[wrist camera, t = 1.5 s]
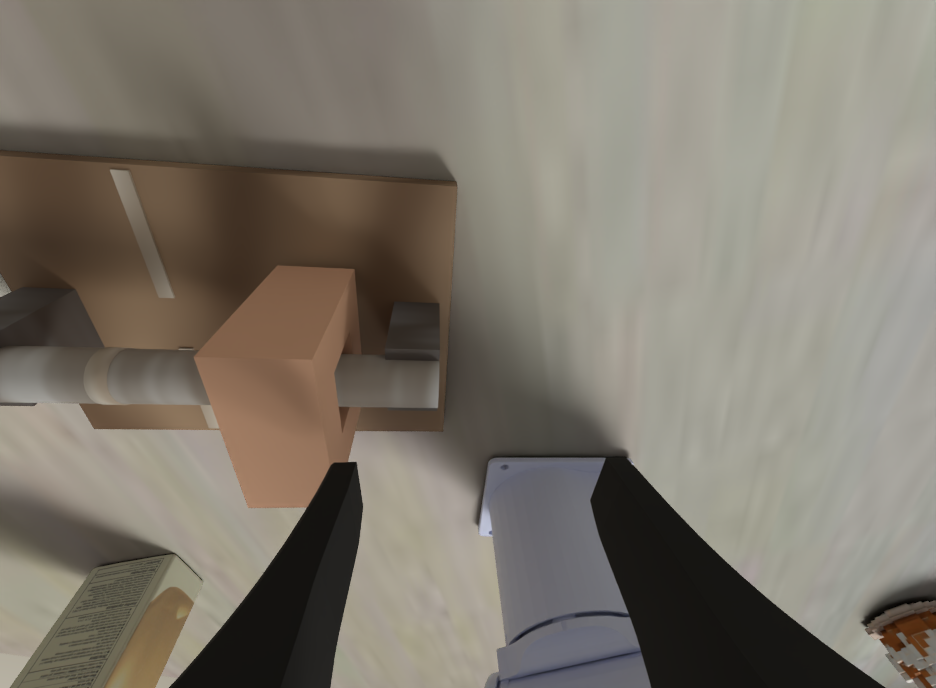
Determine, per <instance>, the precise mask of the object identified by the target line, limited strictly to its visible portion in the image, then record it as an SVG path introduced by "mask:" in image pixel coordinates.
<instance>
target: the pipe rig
mask: <svg viewBox="0 0 936 688" xmlns="http://www.w3.org/2000/svg"><path fill="white" fill-rule="evenodd" d="M456 201H457V182H456V181H441V180H427V179H412V178H397V177H383V176H368V175H354V174H339V173H325V172H310V171H295V170H281V169H266V168H252V167H237V166H223V165H208V164H193V163H179V162H164V161H150V160H135V159H121V158H106V157H91V156H77V155H62V154H48V153H33V152H19V151H4V150H0V273H1V275H2V276H3V278H4V280H5V281H6V283H7V285H8V286H9V288H10V290H11V291H12V292H11V293H9V294H7V295H4V296H2V297H0V406H35V405H36V404H37V403H79V404H80V406H81V408H82V409H83V411H84V413H85V414H86V416H87V418H88V419H89V421H90V423H91V424H92V426H93V428H94V429H172V430H220V428H219V426H218V423H217V420H216V417H215V415H214V412H213V409H212V406H211V404H210V401H209V398H208V396H207V393H206V390H205V387H204V385H203V382H202V379H201V376H200V374H199V371H198V368H197V365H196V363H195V360H194V356H195V355H196V354H197V353H198V351H199V350H200V349H201V348H202V347H203V346H204V345H205V344H206V343H207V342H208V341H209V339H210V338H211V337H212V336H213V335H214V334H215V333H216V332H217V331H218V330H219V329H220V327H221V326H222V325H223V324H224V323H225V322H226V321H227V320H228V319H229V318H230V317H231V315H232V314H233V313H234V312H235V311H236V310H237V309H238V308H239V307H240V306H241V305H242V303H243V302H244V301H245V300H246V299H247V298H248V297H249V296H250V295H251V294H252V293H253V291H254V290H255V289H256V288H257V287H258V286H259V285H260V284H261V283H262V282H263V281H264V279H265V278H266V277H267V276H268V275H269V274H270V273H271V272H272V271H273V270H274V269H275V267H276V266H277V265H279V266H301V267H322V268H344V269H355V281H356V293H357V305H358V316H359V328H360V340H361V352H362V354H341V356H340V359H339V361H338V364H337V367H336V369H335V372H334V375H335V383H336V390H337V398H338V405H339V407H361V409H360V413H359V418H358V422H357V426H356V430H355V431H443V425H444V408H445V390H446V373H447V356H448V339H449V322H450V305H451V287H452V270H453V253H454V236H455V219H456Z"/></svg>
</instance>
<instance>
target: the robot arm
mask: <svg viewBox="0 0 936 688" xmlns="http://www.w3.org/2000/svg"><path fill="white" fill-rule="evenodd" d="M362 512H363V503H362V496H361V489H360V483H359V476H358V469H357V462H334V463H333V464H331V465H330V467H329V469H328V471H327V473H326V475H325V477H324V479H323V481H322V483H321V484H320V486H319V488H318V490H317V492H316V493H315V495H314V497H313V499H312V500H311V502H310V504H309V505H308V507H307V509H306V510H305V512H304V514H303V515H302V517H301V518H300V520H299V521H298V523H297V525H296V526H295V528H294V529H293V531H292V532H291V534H290V536H289V537H288V539H287V540H286V542H285V543H284V545H283V546H282V548H281V549H280V550H279V552H278V553H277V555H276V556H275V558H274V559H273V560H272V562H271V563H270V565H269V566H268V568H267V569H266V570H265V572H264V573H263V575H262V576H261V577H260V579H259V580H258V582H257V583H256V584H255V586H254V587H253V588H252V590H251V591H250V592H249V593H248V595H247V596H246V597H245V599H244V600H243V601H242V603H241V604H240V605H239V606H238V608H237V609H236V610H235V611H234V613H233V614H232V615H231V616H230V618H229V619H228V620H227V621H226V623H225V624H224V625H223V626H222V627H221V629H220V630H219V631H218V632H217V633H216V635H215V636H214V637H213V638H212V639H211V641H210V642H209V643H208V644H207V645H206V646H205V648H204V649H203V650H202V651H201V652H200V654H199V655H198V656H197V657H196V658H195V659H194V661H193V662H192V663H191V664H190V665H189V666H188V667H187V668H186V670H185V671H184V672H183V673H182V674H181V675H180V676H179V677H178V679H177V680H176V681H175V682H174V683H173V684H172V685H171V686H170V687H169V688H330V686H331V679H332V672H333V665H334V657H335V652H336V646H337V641H338V636H339V631H340V626H341V622H342V617H343V613H344V608H345V604H346V599H347V595H348V590H349V586H350V581H351V577H352V572H353V568H354V563H355V559H356V554H357V550H358V545H359V537H360V529H361V520H362ZM478 531H479V534H480V535H481V536H493V544H494V552H495V560H496V568H497V576H498V584H499V592H500V601H501V609H502V617H503V625H504V633H505V641H506V647H502V648H499V649H497V658H498V667H499V672H496V673H493V674H491V675H490V676H489V677H488V679H487V682H486V684H485V688H885V687H884V686H882V685H881V684H879V683H878V682H877V681H875V680H874V679H872V678H871V677H870V676H868V675H867V674H865V673H864V672H863V671H861V670H860V669H858V668H857V667H856V666H854V665H853V664H851V663H850V662H849V661H847V660H846V659H844V658H843V657H842V656H840V655H839V654H838V653H836V652H835V651H834V650H832V649H831V648H830V647H828V646H827V645H825V644H824V643H823V642H821V641H820V640H819V639H818V638H816V637H815V636H814V635H813V634H811V633H810V632H809V631H807V630H806V629H805V628H804V627H802V626H801V625H800V624H798V623H797V622H796V621H795V620H793V619H792V618H791V617H790V616H788V615H787V614H786V613H784V612H783V611H782V610H781V609H780V608H778V607H777V606H776V605H775V604H774V603H772V602H771V601H770V600H769V599H768V598H766V597H765V596H764V595H763V594H762V593H761V592H759V591H758V590H757V589H756V588H755V587H754V586H753V585H751V584H750V583H749V582H748V581H747V580H746V579H744V578H743V577H742V576H741V575H740V574H739V573H738V572H737V571H736V570H734V569H733V568H732V567H731V566H730V565H729V564H728V563H727V562H726V561H725V560H724V559H723V558H722V557H721V556H719V555H718V554H717V553H716V552H715V551H714V550H713V549H712V548H711V547H710V546H709V545H708V544H707V543H706V542H705V541H704V540H703V539H702V538H701V537H700V536H699V535H698V534H697V533H696V532H695V531H694V530H693V529H692V528H691V527H690V526H689V525H688V524H687V523H686V522H685V521H684V520H683V519H682V518H681V517H680V515H679V514H678V513H677V512H676V511H675V510H674V509H673V508H672V507H671V506H670V505H669V504H668V503H667V502H666V501H665V500H664V498H663V497H662V496H661V495H660V494H659V493H658V492H657V491H656V490H655V489H654V488H653V486H652V485H651V484H650V483H649V482H648V481H647V480H646V479H645V478H644V476H643V475H642V474H641V473H640V472H639V471H638V470H637V469H636V468H635V467H634V464H633V462H632V460H631V459H630V458H626V457H610V458H493V459H491V460H490V461H489V462H488V468H487V474H486V481H485V487H484V494H483V500H482V507H481V513H480V520H479V526H478Z"/></svg>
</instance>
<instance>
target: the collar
mask: <svg viewBox="0 0 936 688" xmlns="http://www.w3.org/2000/svg"><path fill="white" fill-rule="evenodd" d="M341 354H362V352H361V340H360V328H359V316H358V305H357V293H356V281H355V269H344V268H322V267H301V266H279V265H277V266H276V267H275V269H274V270H273V271H272V272H271V273H270V274H269V275H268V276H267V277H266V278H265V279H264V281H263V282H262V283H261V284H260V285H259V286H258V287H257V288H256V289H255V290H254V291H253V293H252V294H251V295H250V296H249V297H248V298H247V299H246V300H245V301H244V302H243V303H242V305H241V306H240V307H239V308H238V309H237V310H236V311H235V312H234V313H233V314H232V315H231V317H230V318H229V319H228V320H227V321H226V322H225V323H224V324H223V325H222V326H221V327H220V329H219V330H218V331H217V332H216V333H215V334H214V335H213V336H212V337H211V338H210V339H209V341H208V342H207V343H206V344H205V345H204V346H203V347H202V348H201V349H200V350H199V351H198V353H197V354H196V355H195V356H194V360H195V363H196V365H197V368H198V371H199V374H200V376H201V379H202V382H203V385H204V387H205V390H206V393H207V396H208V398H209V401H210V404H211V406H212V409H213V412H214V415H215V417H216V420H217V423H218V426H219V428H220V431H221V434H222V437H223V439H224V442H225V445H226V448H227V450H228V453H229V456H230V459H231V461H232V464H233V467H234V470H235V472H236V475H237V478H238V481H239V483H240V486H241V489H242V492H243V494H244V497H245V500H246V503H247V505H248V508H294V507H308V505H309V504H310V502H311V500H312V499H313V497H314V495H315V493H316V492H317V490H318V488H319V486H320V484H321V483H322V481H323V479H324V477H325V475H326V473H327V471H328V469H329V467H330V465H331V464H333V463H334V462H348V459H349V455H350V451H351V446H352V442H353V438H354V434H355V430H356V426H357V422H358V418H359V413H360V409H361V407H339V405H338V398H337V390H336V383H335V375H334V372H335V369H336V367H337V364H338V361H339V359H340V356H341Z"/></svg>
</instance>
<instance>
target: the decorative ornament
mask: <svg viewBox="0 0 936 688" xmlns="http://www.w3.org/2000/svg"><path fill="white" fill-rule="evenodd" d="M884 612H885V613H883V614H880V615H881V616H879V617H876V618H875V619H876V620H873V621H871V622H872V623H870V624H867V625H868V627H869V628H866V629H865V631H866V632H867V633H868V634H869V635H870V636H871V637H872V638H873V639H874V640H876V639H879V638H880V641H881V642H882V643H883V644H884V646H885V647H886V648H887V650H888V652H889V653H888V654H885V655H886V657H887V658H888V659H889V661H890V662H891V663H892V665H893V666H894V667H895V668H896V670H897V671H898V672H899V673H900V674H901V675H902V677H903V678H904V679H905V680H906V681H907V682H908V683H911V682H915V684H916V685H917V686H918V687H919V688H936V600H934V601H931V602H929V601H926V602H923V603H922V602H921V601H920V602H917V603H915V604H914V603H911V604H907V603H905V604H902V605H900V606H897V607H894V608H891V609H888V610H886V611H884Z"/></svg>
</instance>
